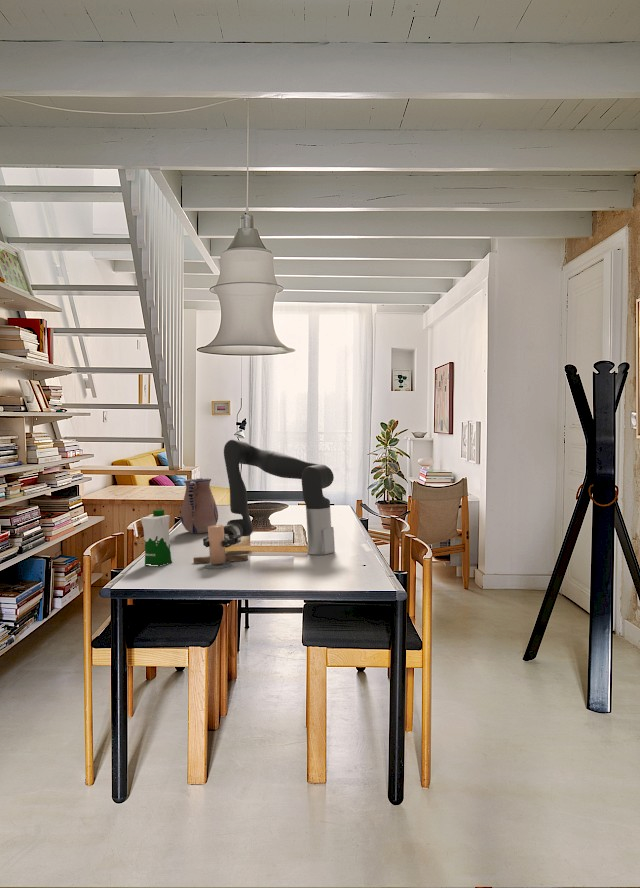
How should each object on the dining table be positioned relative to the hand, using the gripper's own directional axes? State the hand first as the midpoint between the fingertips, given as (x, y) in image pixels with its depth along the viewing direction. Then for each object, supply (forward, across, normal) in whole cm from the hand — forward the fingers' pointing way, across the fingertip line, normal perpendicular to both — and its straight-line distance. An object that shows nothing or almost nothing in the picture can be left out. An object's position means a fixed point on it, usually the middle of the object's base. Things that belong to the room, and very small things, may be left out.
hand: (214, 544), depth 257 cm
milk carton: (-8, -25, +9) cm, 27 cm away
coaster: (-2, 0, +8) cm, 9 cm away
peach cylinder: (-3, 0, +7) cm, 7 cm away
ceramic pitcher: (-76, -32, +9) cm, 83 cm away
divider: (-10, -1, +8) cm, 13 cm away
